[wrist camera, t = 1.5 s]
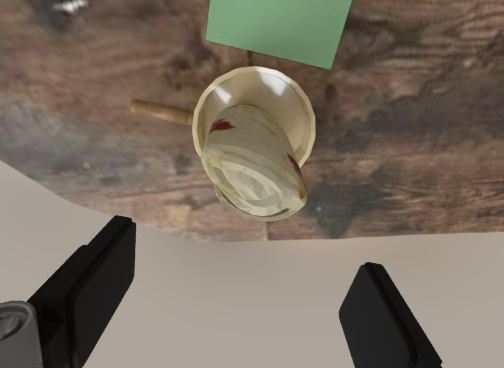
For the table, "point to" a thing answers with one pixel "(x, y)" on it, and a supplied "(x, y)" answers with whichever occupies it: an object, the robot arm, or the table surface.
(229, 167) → the food model
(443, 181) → the table surface
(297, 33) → the napkin
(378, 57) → the table surface
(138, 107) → the brown rod
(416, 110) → the table surface
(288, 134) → the pan
